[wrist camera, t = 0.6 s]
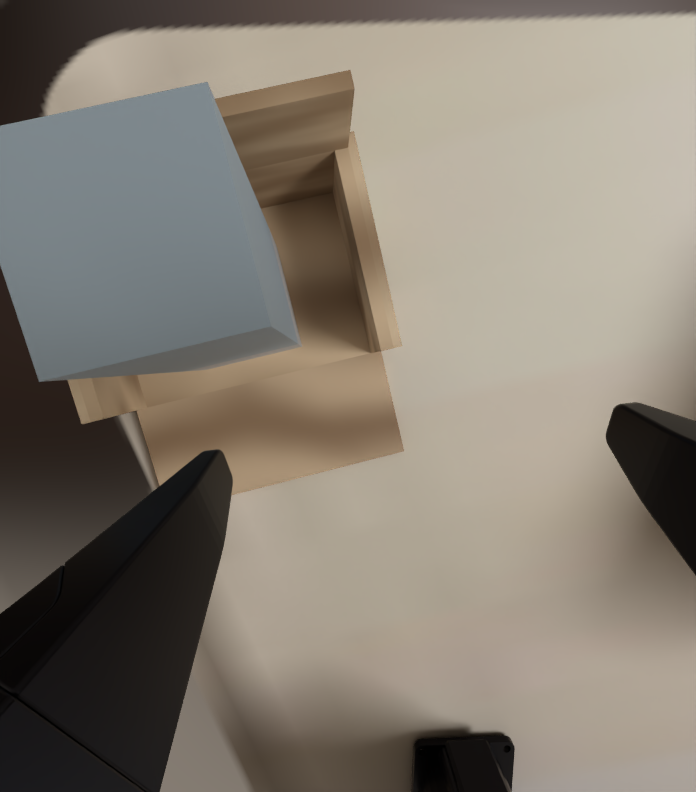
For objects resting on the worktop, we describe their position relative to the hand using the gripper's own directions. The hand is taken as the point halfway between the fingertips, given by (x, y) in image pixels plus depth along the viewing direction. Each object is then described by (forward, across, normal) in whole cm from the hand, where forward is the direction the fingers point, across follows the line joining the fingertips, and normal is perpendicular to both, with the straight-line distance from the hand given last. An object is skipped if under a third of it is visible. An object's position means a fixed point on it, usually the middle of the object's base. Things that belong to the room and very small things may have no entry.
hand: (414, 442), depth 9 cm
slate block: (+13, +7, 0) cm, 15 cm away
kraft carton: (+13, +7, +2) cm, 15 cm away
